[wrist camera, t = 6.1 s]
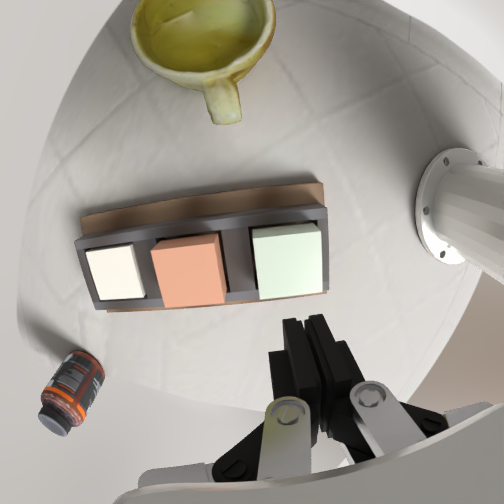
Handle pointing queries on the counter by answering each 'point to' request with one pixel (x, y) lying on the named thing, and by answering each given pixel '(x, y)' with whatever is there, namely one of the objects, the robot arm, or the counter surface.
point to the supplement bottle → (70, 393)
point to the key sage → (288, 260)
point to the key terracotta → (190, 271)
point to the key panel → (204, 223)
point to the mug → (204, 45)
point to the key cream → (116, 271)
